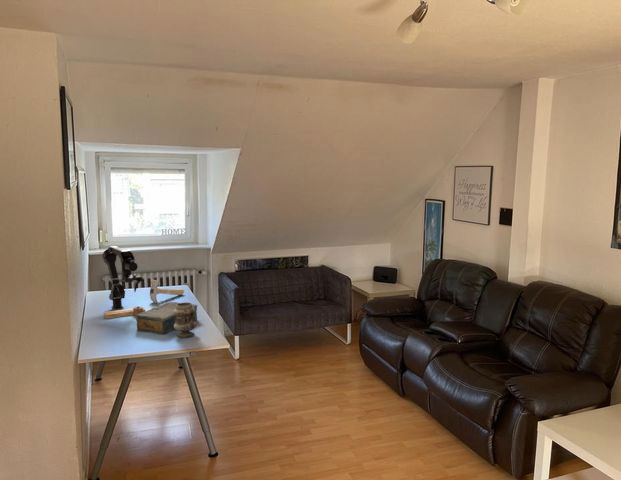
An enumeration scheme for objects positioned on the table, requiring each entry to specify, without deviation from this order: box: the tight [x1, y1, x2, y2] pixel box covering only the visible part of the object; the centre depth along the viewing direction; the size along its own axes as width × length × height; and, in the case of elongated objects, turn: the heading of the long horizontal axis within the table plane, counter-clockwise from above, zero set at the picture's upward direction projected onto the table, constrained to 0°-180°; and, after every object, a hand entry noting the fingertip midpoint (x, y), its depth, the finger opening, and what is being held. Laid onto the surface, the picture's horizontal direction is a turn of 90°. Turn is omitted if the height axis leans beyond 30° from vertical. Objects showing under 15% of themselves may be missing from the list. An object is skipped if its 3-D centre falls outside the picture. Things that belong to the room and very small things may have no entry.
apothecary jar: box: [173, 301, 197, 339], centre depth 272 cm, size 12×12×18 cm
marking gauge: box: [132, 305, 144, 318], centre depth 315 cm, size 10×5×6 cm, turn 32°
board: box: [103, 306, 146, 319], centre depth 315 cm, size 7×24×3 cm, turn 122°
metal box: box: [135, 301, 198, 335], centre depth 291 cm, size 21×32×10 cm, turn 158°
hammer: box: [149, 279, 185, 304], centre depth 355 cm, size 16×5×30 cm
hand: (127, 292), depth 319 cm, fingers open, 9 cm apart
